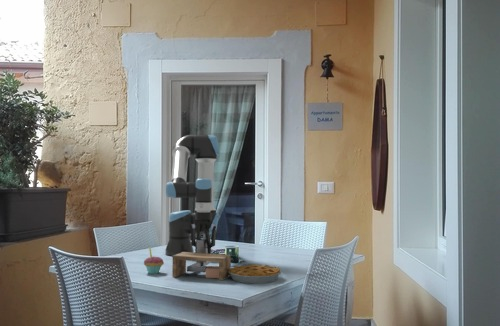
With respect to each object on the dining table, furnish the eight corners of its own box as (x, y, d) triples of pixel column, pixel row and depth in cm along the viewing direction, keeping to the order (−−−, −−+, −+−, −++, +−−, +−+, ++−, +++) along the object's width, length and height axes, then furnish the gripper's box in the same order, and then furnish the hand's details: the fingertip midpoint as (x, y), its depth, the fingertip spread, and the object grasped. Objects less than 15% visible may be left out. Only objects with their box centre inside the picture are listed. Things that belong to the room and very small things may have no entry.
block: (208, 275, 231) (208, 265, 231) (222, 275, 230) (222, 266, 230) (205, 277, 225) (205, 268, 225) (219, 278, 224) (219, 268, 224)
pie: (251, 271, 239) (251, 260, 239) (291, 278, 225) (291, 266, 225) (218, 279, 222) (218, 267, 222) (259, 287, 208) (259, 274, 208)
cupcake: (144, 275, 229) (144, 247, 230) (143, 271, 238) (143, 244, 238) (164, 274, 232) (164, 246, 232) (162, 270, 240) (162, 244, 240)
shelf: (182, 272, 236) (182, 251, 236) (230, 275, 230) (230, 254, 230) (172, 276, 226) (172, 255, 226) (222, 280, 219) (222, 258, 219)
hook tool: (202, 263, 252) (202, 238, 253) (219, 264, 250) (220, 238, 250) (185, 271, 232) (185, 243, 232) (204, 272, 230) (204, 244, 230)
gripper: (183, 211, 247) (183, 261, 247) (217, 212, 243) (217, 263, 242) (190, 210, 254) (189, 259, 254) (222, 211, 250) (222, 261, 250)
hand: (203, 261), depth 248 cm, fingers closed on hook tool, 3 cm apart
